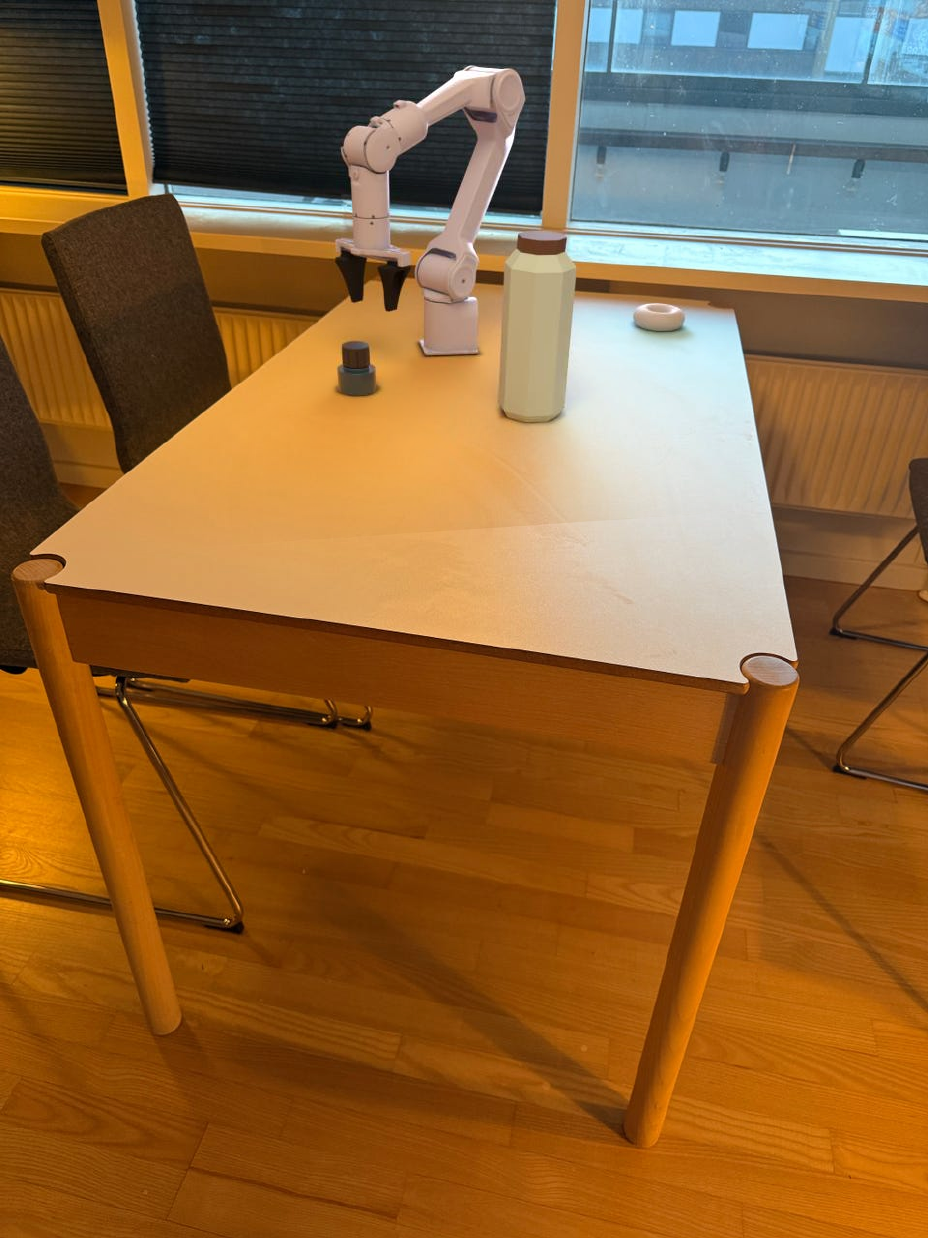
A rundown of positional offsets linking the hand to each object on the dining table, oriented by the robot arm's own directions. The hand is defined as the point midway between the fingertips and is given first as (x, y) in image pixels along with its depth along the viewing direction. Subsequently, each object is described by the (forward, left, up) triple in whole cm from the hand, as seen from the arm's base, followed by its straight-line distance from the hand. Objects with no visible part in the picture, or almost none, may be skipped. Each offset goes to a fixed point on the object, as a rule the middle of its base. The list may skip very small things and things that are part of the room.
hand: (373, 305), depth 145 cm
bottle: (+4, +11, -10) cm, 15 cm away
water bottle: (-21, +24, -10) cm, 33 cm away
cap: (+4, +11, -6) cm, 13 cm away
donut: (-57, -18, -10) cm, 61 cm away
